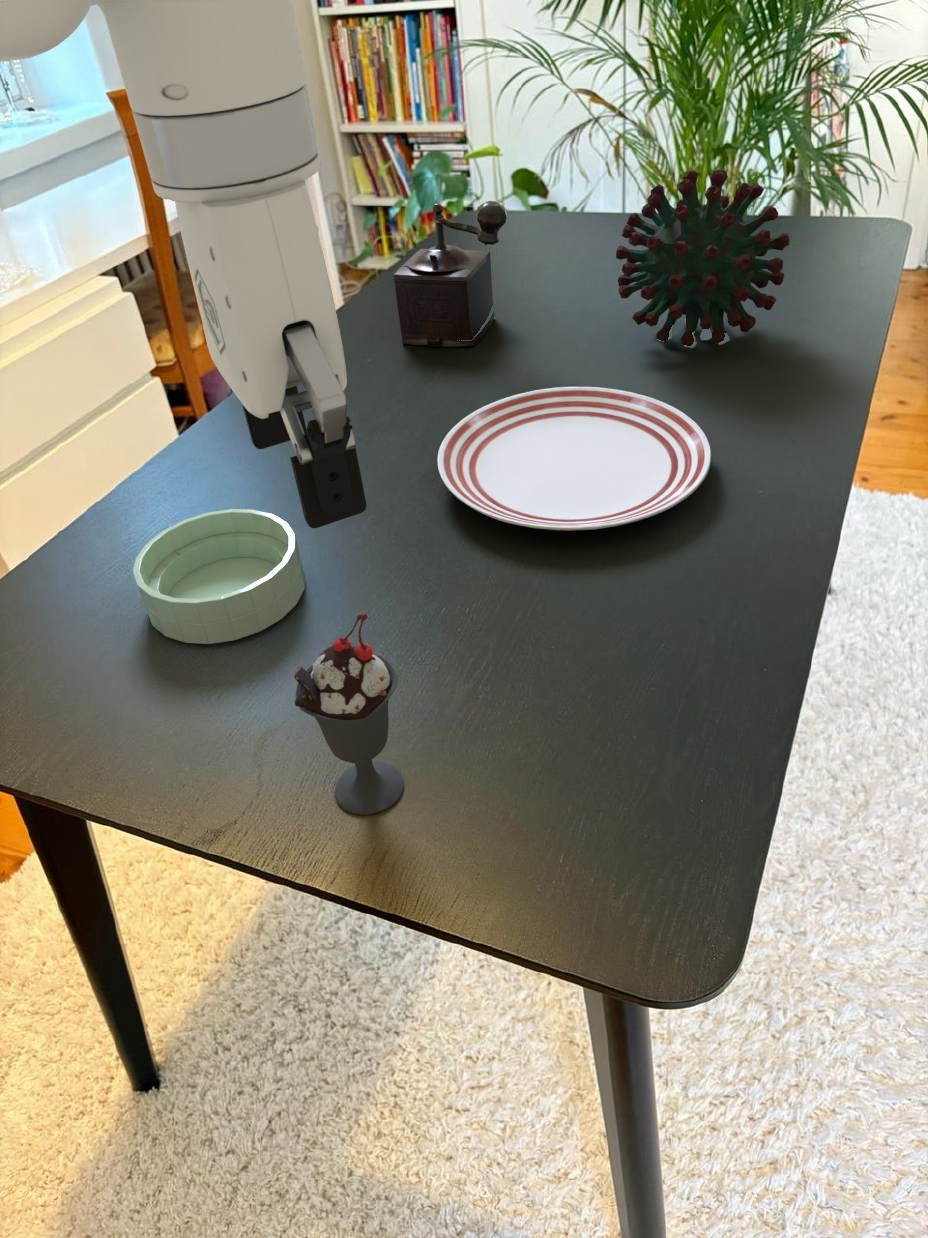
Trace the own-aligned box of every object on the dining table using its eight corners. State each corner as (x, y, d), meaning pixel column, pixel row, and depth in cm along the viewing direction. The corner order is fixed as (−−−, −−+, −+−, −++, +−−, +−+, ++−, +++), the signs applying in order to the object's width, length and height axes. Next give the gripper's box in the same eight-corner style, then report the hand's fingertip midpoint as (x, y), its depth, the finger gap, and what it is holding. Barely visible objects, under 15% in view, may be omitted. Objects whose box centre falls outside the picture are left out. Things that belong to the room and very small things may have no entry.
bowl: (168, 669, 82) (151, 623, 79) (136, 582, 92) (120, 539, 89) (326, 613, 86) (316, 567, 83) (279, 536, 96) (268, 493, 93)
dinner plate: (768, 485, 96) (772, 455, 94) (537, 588, 86) (536, 557, 84) (598, 390, 115) (598, 363, 113) (394, 465, 105) (390, 438, 103)
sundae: (431, 766, 71) (406, 605, 61) (388, 836, 66) (353, 672, 57) (353, 744, 73) (317, 585, 64) (306, 809, 69) (259, 648, 59)
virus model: (675, 298, 134) (683, 141, 122) (808, 330, 123) (833, 160, 110) (583, 350, 124) (581, 184, 111) (720, 390, 112) (735, 210, 100)
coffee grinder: (397, 346, 130) (378, 206, 118) (425, 314, 138) (410, 179, 126) (509, 353, 125) (501, 207, 114) (532, 319, 133) (526, 179, 122)
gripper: (111, 125, 48) (203, 434, 59) (192, 206, 36) (290, 579, 46) (256, 96, 50) (319, 399, 61) (381, 163, 38) (432, 529, 48)
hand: (307, 476), depth 54 cm, fingers open, 9 cm apart
